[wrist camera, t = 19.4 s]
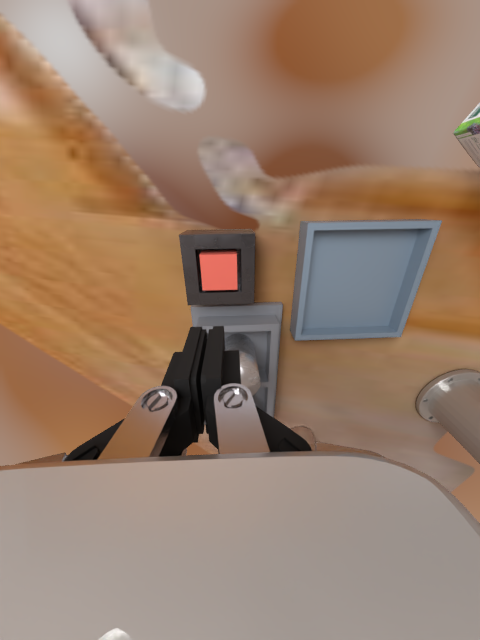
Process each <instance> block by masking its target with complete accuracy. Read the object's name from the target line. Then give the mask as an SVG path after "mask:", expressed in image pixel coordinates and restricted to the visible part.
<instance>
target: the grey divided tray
mask: <svg viewBox="0 0 480 640" xmlns="http://www.w3.org/2000/svg"><path fill="white" fill-rule="evenodd" d="M282 307H283V304H282V303H281V302H264V303H248V304H213V305H191V314H192V323H193V327H202V329H206V331H207V338H208V332H209V329H213V326H224V336H225V339H226V338H227V337H228V336H230V335H233V334H244V335H246V336H248V337H249V338H250V339H251V340H252V341H253V344H254V349H255V355H256V360H257V365H258V371H259V376H260V382H261V384H260V388H259V390H258V391H257V392H256V393H255V394H254V395H253V398H254V403H255V406H257V407H258V408H260V409H261V410H263V411H264V412H266V413H267V414H269V415H270V416H272V417H273V418H274V410H275V397H276V385H277V372H278V359H279V346H280V333H281V320H282ZM205 425H206V424H205Z"/></svg>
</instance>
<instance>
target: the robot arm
mask: <svg viewBox="0 0 480 640" xmlns="http://www.w3.org/2000/svg"><path fill="white" fill-rule="evenodd" d="M416 408H417V411H418V412H419V414H420V415H421V416H422V417H423V418H424V419H426V420H428V421H431V422H438V423H439V422H440V423H441V424H442V426H443V427H444V428H445V429H446V430H447V431H448V432H449V433H450V434H451V435H452V436H453V437H454V438H455V439H456V440H457V441H458V442H459V443H460V444H461V445H462V446H463V447H464V448H465V449H466V450H467V451H468V452H469V453H470V454H471V455H472V456H473V457H474V458H475V459H476V460H477V462H478V463H479V464H480V372H478V371H475V370H469V369H464V370H456V371H452V372H449V373H446V374H444V375H441V376H439V377H438V378H436V379H434V380H433V381H431V382H430V383H429V384H428V385H427V386H426V387H425V388H423V390H422V391H421V392H420V394H419V396H418V398H417V401H416ZM204 424H206V432H207V434H208V433H209V441H210V442H211V443H212V444H213V445H214V446H215V447H216V448H217V449H218V452H219V454H211V455H188V456H186V453H187V449H186V448H187V447H188V446H189V445H190V444H192V443H193V442H198V437H199V434H203V432H204ZM0 640H480V523H479V522H478V521H477V520H476V519H475V518H474V517H473V516H472V514H471V513H470V512H469V511H468V510H467V509H466V508H465V507H464V506H463V504H462V503H461V502H459V500H458V499H457V498H456V497H455V496H454V495H452V494H451V493H450V492H449V491H448V490H447V489H446V488H445V487H444V486H442V485H441V484H440V483H438V482H437V481H436V480H435V479H433V478H431V477H430V476H428V475H426V474H425V473H423V472H421V471H419V470H417V469H415V468H412V467H410V466H407V465H405V464H403V463H399V462H396V461H393V460H390V459H387V458H385V457H383V456H382V455H380V454H378V453H375V452H372V451H367V450H362V449H356V448H350V447H344V446H339V445H333V444H327V443H321V442H316V445H314V444H309V443H307V441H306V440H305V439H303V438H302V437H301V436H300V435H298V434H297V433H295V432H294V431H292V430H291V429H289V428H288V427H286V426H285V425H283V424H282V423H280V422H279V421H278V420H276V419H275V418H273V417H272V416H270V415H269V414H267V413H266V412H264V411H263V410H261V409H260V408H258V407H257V406H255V403H254V400H253V397H252V394H251V392H250V390H249V389H248V388H247V387H245V386H243V385H241V372H240V355H239V350H229V351H225V336H224V326H213V329H209V332H208V338H207V331H206V329H202V327H191V328H190V331H189V334H188V337H187V340H186V343H185V346H184V349H183V352H175V353H174V354H173V356H172V359H171V362H170V364H169V367H168V369H167V372H166V374H165V377H164V380H163V382H162V385H161V386H158V387H154V388H151V389H149V390H147V391H146V392H144V393H143V394H142V395H141V396H140V397H139V399H138V400H137V402H136V403H135V404H134V406H133V407H132V409H131V411H130V412H129V413H128V415H127V417H126V418H125V419H123V420H121V421H120V422H118V423H116V424H115V425H114V426H111V427H110V428H108V429H107V430H105V431H103V432H102V433H100V434H98V435H97V436H95V437H93V438H92V439H90V440H89V441H87V442H85V443H84V444H82V445H80V446H79V447H77V448H76V449H75V450H73V451H72V452H71V453H70V454H69V455H66V453H61V454H57V455H52V456H48V457H44V458H40V459H35V460H31V461H27V462H23V463H19V464H15V465H5V466H0Z"/></svg>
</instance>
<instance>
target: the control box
mask: <svg viewBox="0 0 480 640" xmlns="http://www.w3.org/2000/svg"><path fill="white" fill-rule="evenodd" d="M179 238H180V246H181V254H182V262H183V270H184V278H185V286H186V294H187V302H188V305H213V304H248V303H254V275H255V233H254V232H253V231H252V230H251V229H229V230H187V231H185V232H183V233H181V234H180V235H179ZM228 249H236V252H237V290H203V289H202V278H201V267H200V256H199V255H200V253H201V252H202V250H228Z"/></svg>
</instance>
